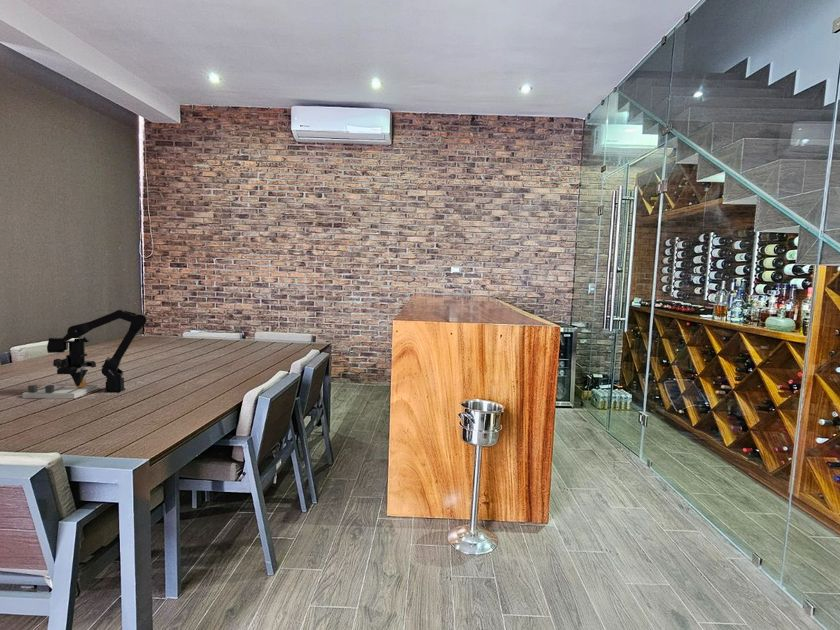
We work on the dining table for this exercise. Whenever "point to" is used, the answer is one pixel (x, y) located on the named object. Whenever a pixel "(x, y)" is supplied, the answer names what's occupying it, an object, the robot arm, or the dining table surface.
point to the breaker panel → (57, 391)
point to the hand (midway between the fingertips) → (77, 385)
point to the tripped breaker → (82, 383)
